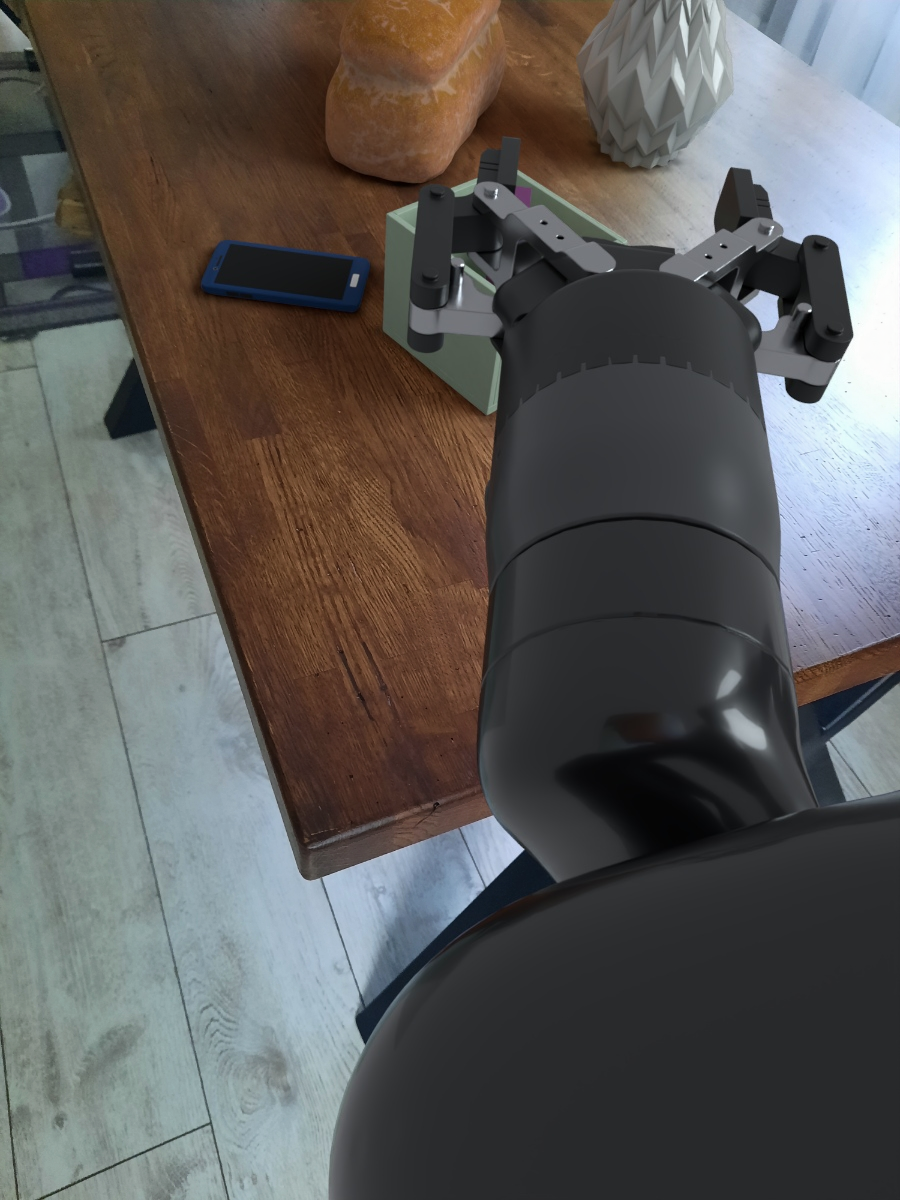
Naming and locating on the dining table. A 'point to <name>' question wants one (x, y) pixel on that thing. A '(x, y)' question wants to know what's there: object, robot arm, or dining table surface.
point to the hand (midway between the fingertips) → (618, 176)
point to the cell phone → (286, 275)
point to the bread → (412, 84)
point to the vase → (655, 76)
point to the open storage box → (474, 357)
